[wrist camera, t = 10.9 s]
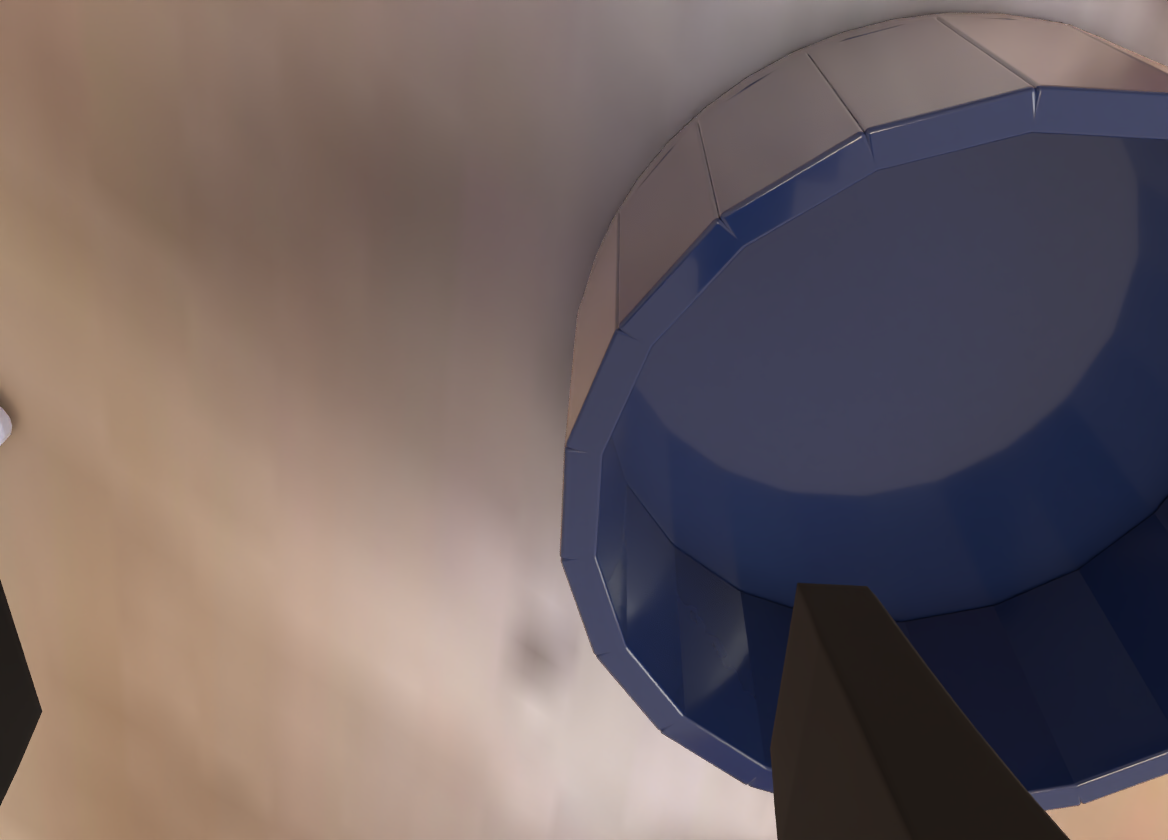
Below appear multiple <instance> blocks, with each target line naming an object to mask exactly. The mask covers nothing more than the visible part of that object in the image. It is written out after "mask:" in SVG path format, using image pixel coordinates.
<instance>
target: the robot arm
mask: <svg viewBox="0 0 1168 840" xmlns="http://www.w3.org/2000/svg"><path fill="white" fill-rule="evenodd" d="M11 432H12V423H11V420H10V417H9V416H8V415H7V413H6V412H5V411H4V409H3V408H2V407H1V406H0V446H1V445H2V443H3V442H4V441H5V440H6V439H7V438H8V437H9V436H10V435H11ZM41 713H42V709H41V706H40V703H39V700H38V697H37V694H36V690H35V687H34V684H33V681H32V678H31V675H30V672H29V668H28V665H27V662H26V659H25V656H24V653H23V650H22V647H21V643H20V640H19V637H18V634H17V631H16V628H15V625H14V621H13V618H12V615H11V612H10V609H9V606H8V603H7V599H6V596H5V593H4V590H3V587H2V584H1V581H0V805H1V803H2V801H3V799H4V797H5V795H6V793H7V791H8V788H9V786H10V784H11V782H12V780H13V778H14V776H15V774H16V772H17V769H18V767H19V765H20V762H21V760H22V758H23V755H24V753H25V751H26V748H27V746H28V744H29V741H30V739H31V737H32V734H33V732H34V730H35V727H36V725H37V722H38V720H39V718H40V715H41ZM770 753H771V766H772V779H773V792H774V805H775V816H776V827H777V838H778V840H1070V839H1069V838H1068V837H1067V836H1066V835H1065V833H1064V832H1063V831H1062V830H1061V829H1060V828H1059V827H1058V826H1057V824H1056V823H1055V822H1054V821H1053V820H1052V819H1051V817H1050V816H1049V815H1048V814H1047V813H1046V812H1045V811H1044V809H1043V808H1042V807H1041V806H1040V805H1039V804H1038V802H1037V801H1036V800H1035V799H1034V798H1033V797H1032V796H1031V794H1030V793H1029V792H1028V791H1027V790H1026V788H1025V787H1024V786H1023V785H1022V784H1021V782H1020V781H1019V780H1018V779H1017V778H1016V776H1015V775H1014V774H1013V773H1012V771H1011V770H1010V769H1009V768H1008V767H1007V765H1006V764H1005V763H1004V762H1003V761H1002V759H1001V758H1000V757H999V756H998V754H997V753H996V752H995V751H994V750H993V748H992V747H991V746H990V745H989V744H988V742H987V741H986V740H985V739H984V738H983V736H982V735H981V734H980V733H979V731H978V730H977V729H976V728H975V726H974V725H973V724H972V723H971V721H970V720H969V719H968V718H967V716H966V715H965V714H964V713H963V711H962V710H961V709H960V707H959V706H958V705H957V704H956V702H955V701H954V700H953V698H952V697H951V696H950V695H949V693H948V692H947V691H946V689H945V688H944V687H943V685H942V684H941V683H940V681H939V680H938V679H937V677H936V676H935V675H934V674H933V672H932V671H931V670H930V668H929V667H928V666H927V664H926V663H925V662H924V660H923V659H922V658H921V656H920V655H919V654H918V652H917V651H916V650H915V648H914V647H913V646H912V644H911V643H910V641H909V640H908V639H907V637H906V636H905V635H904V633H903V632H902V631H901V629H900V628H899V626H898V625H897V624H896V622H895V621H894V620H893V618H892V617H891V616H890V614H889V613H888V611H887V610H886V609H885V607H884V606H883V605H882V603H881V602H880V601H879V599H878V598H877V597H876V595H875V594H874V593H873V592H872V591H871V590H870V589H869V588H868V586H855V585H834V584H813V583H797V588H796V594H795V600H794V606H793V612H792V618H791V624H790V631H789V637H788V643H787V649H786V655H785V661H784V667H783V673H782V679H781V685H780V691H779V697H778V703H777V709H776V715H775V721H774V728H773V734H772V740H771V746H770Z"/></svg>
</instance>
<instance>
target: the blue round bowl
mask: <svg viewBox="0 0 1168 840" xmlns="http://www.w3.org/2000/svg"><path fill="white" fill-rule="evenodd" d="M560 556H561V563H562V566H563V569H564V572H565V574H566V577H567V580H568V583H569V586H570V588H571V591H572V594H573V597H574V600H575V602H576V605H577V608H578V611H579V614H580V616H581V619H582V622H583V625H584V628H585V630H586V633H587V636H588V639H589V642H590V644H591V647H592V650H593V652H594V654H595V655H596V657H597V658H598V660H599V661H600V662H601V663H602V664H603V666H604V667H605V668H606V669H607V670H608V671H609V673H610V674H611V675H612V676H613V677H614V678H615V680H616V681H617V682H618V683H619V684H620V685H621V687H622V688H623V689H624V690H625V691H626V692H627V694H628V695H629V696H630V697H631V698H632V700H633V701H634V702H635V703H636V704H637V705H638V707H639V708H640V709H641V710H642V711H643V712H644V714H645V715H646V716H647V717H648V718H649V719H650V721H651V722H652V723H653V724H654V725H655V727H656V728H657V729H658V730H660V731H661V733H662V734H664V735H665V736H667V737H669V738H670V739H672V740H673V741H675V742H677V743H678V744H680V745H682V746H683V747H685V748H686V749H688V750H690V751H691V752H693V753H695V754H696V755H698V756H700V757H701V758H703V759H704V760H706V761H708V762H709V763H711V764H713V765H714V766H716V767H717V768H719V769H721V770H722V771H724V772H726V773H727V774H729V775H730V776H732V777H734V778H735V779H737V780H739V781H740V782H742V783H744V784H745V785H747V784H748V785H749V786H750V787H754V788H757V789H760V790H764V791H767V792H771V793H774V792H773V779H772V766H771V753H770V746H771V740H772V734H773V728H774V721H775V715H776V709H777V703H778V697H779V691H780V685H781V679H782V673H783V667H784V661H785V655H786V649H787V643H788V637H789V631H790V624H791V618H792V612H793V606H794V600H795V594H796V588H797V583H813V584H834V585H855V586H868V588H869V589H870V590H871V591H872V592H873V593H874V594H875V595H876V597H877V598H878V599H879V601H880V602H881V603H882V605H883V606H884V607H885V609H886V610H887V611H888V613H889V614H890V616H891V617H892V618H893V620H894V621H895V622H896V624H897V625H898V626H899V628H900V629H901V631H902V632H903V633H904V635H905V636H906V637H907V639H908V640H909V641H910V643H911V644H912V646H913V647H914V648H915V650H916V651H917V652H918V654H919V655H920V656H921V658H922V659H923V660H924V662H925V663H926V664H927V666H928V667H929V668H930V670H931V671H932V672H933V674H934V675H935V676H936V677H937V679H938V680H939V681H940V683H941V684H942V685H943V687H944V688H945V689H946V691H947V692H948V693H949V695H950V696H951V697H952V698H953V700H954V701H955V702H956V704H957V705H958V706H959V707H960V709H961V710H962V711H963V713H964V714H965V715H966V716H967V718H968V719H969V720H970V721H971V723H972V724H973V725H974V726H975V728H976V729H977V730H978V731H979V733H980V734H981V735H982V736H983V738H984V739H985V740H986V741H987V742H988V744H989V745H990V746H991V747H992V748H993V750H994V751H995V752H996V753H997V754H998V756H999V757H1000V758H1001V759H1002V761H1003V762H1004V763H1005V764H1006V765H1007V767H1008V768H1009V769H1010V770H1011V771H1012V773H1013V774H1014V775H1015V776H1016V778H1017V779H1018V780H1019V781H1020V782H1021V784H1022V785H1023V786H1024V787H1025V788H1026V790H1027V791H1028V792H1029V793H1030V794H1031V796H1032V797H1033V798H1034V799H1035V800H1036V801H1037V802H1038V804H1039V805H1040V806H1041V807H1042V808H1043V809H1044V811H1046V810H1053V809H1059V808H1066V807H1073V806H1079V805H1080V804H1081V803H1082V804H1086V803H1088V802H1091V801H1094V800H1097V799H1099V798H1102V797H1105V796H1108V795H1111V794H1113V793H1116V792H1119V791H1122V790H1124V789H1127V788H1130V787H1133V786H1135V785H1138V784H1141V783H1144V782H1147V781H1149V780H1152V779H1155V778H1158V777H1160V776H1163V775H1166V774H1168V67H1167V66H1165V65H1163V64H1160V63H1158V62H1156V61H1153V60H1151V59H1149V58H1146V57H1144V56H1142V55H1140V54H1137V53H1135V52H1133V51H1130V50H1128V49H1126V48H1123V47H1121V46H1119V45H1116V44H1114V43H1112V42H1110V41H1108V40H1106V39H1104V38H1102V37H1100V36H1098V35H1094V34H1091V33H1089V32H1086V31H1084V30H1082V29H1080V28H1077V27H1075V26H1073V25H1070V24H1068V25H1066V24H1064V23H1062V22H1052V21H1048V20H1042V19H1035V18H1029V17H1022V16H1016V15H1009V14H1003V13H956V12H946V13H938V14H930V15H922V16H914V17H906V18H898V19H892V20H888V21H884V22H880V23H877V24H873V25H869V26H865V27H861V28H857V29H853V30H849V31H846V32H842V33H839V34H837V35H834V36H832V37H829V38H827V39H824V40H822V41H819V42H817V43H814V44H812V45H809V46H807V47H804V48H802V49H799V50H797V51H794V52H792V53H790V54H788V55H787V56H785V57H783V58H781V59H779V60H777V61H776V62H774V63H772V64H770V65H768V66H767V67H765V68H763V69H761V70H759V71H757V72H756V73H754V74H752V75H750V76H748V77H747V78H745V79H744V80H742V81H741V82H740V83H738V84H737V85H736V86H734V87H733V88H731V89H730V90H729V91H727V92H726V93H725V94H723V95H722V96H720V97H719V98H718V99H716V100H715V101H714V102H712V103H711V104H709V105H708V106H707V107H705V108H704V109H703V110H702V111H701V112H700V113H699V114H698V115H697V116H696V117H694V118H693V119H692V120H691V121H690V122H689V123H688V124H687V125H686V126H685V127H684V128H683V129H682V130H681V131H680V132H678V133H677V134H676V135H675V136H674V137H673V138H672V139H671V140H670V141H669V142H668V143H667V144H666V145H665V147H664V148H663V149H662V150H661V151H660V153H659V154H658V155H657V156H656V157H655V159H654V160H653V161H652V162H651V164H650V165H649V166H648V167H647V168H646V170H645V171H644V172H643V173H642V174H641V176H640V177H639V178H638V179H637V181H636V182H635V184H634V186H633V187H632V189H631V190H630V192H629V194H628V195H627V197H626V198H625V200H624V202H623V203H622V205H621V206H620V208H619V210H618V211H617V213H616V214H615V216H614V217H613V219H612V222H611V224H610V226H609V228H608V230H607V233H606V235H605V237H604V239H603V241H602V244H601V246H600V248H599V250H598V252H597V254H596V257H595V259H594V262H593V266H592V269H591V273H590V276H589V279H588V283H587V286H586V289H585V293H584V296H583V299H582V301H581V304H580V306H579V308H578V314H577V321H576V331H575V342H574V352H573V363H572V373H571V384H570V394H569V405H568V415H567V426H566V436H565V447H564V467H563V491H562V515H561V538H560Z"/></svg>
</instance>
